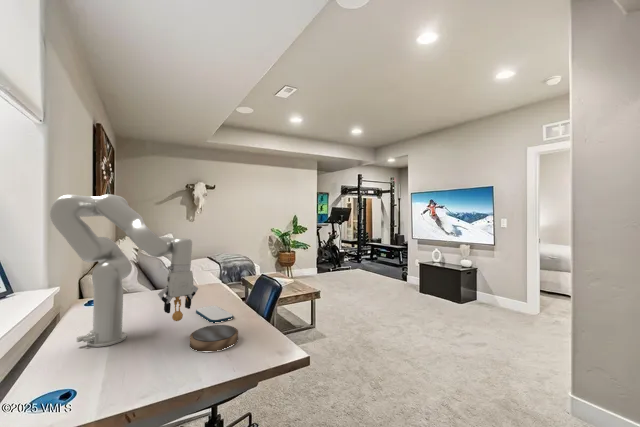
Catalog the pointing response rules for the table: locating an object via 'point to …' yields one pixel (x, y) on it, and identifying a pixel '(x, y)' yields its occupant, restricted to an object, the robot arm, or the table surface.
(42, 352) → the table surface
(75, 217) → the robot arm
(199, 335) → the walnut stand
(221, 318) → the external hard drive
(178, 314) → the figurine
